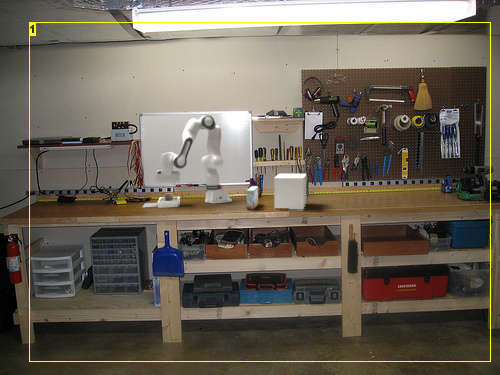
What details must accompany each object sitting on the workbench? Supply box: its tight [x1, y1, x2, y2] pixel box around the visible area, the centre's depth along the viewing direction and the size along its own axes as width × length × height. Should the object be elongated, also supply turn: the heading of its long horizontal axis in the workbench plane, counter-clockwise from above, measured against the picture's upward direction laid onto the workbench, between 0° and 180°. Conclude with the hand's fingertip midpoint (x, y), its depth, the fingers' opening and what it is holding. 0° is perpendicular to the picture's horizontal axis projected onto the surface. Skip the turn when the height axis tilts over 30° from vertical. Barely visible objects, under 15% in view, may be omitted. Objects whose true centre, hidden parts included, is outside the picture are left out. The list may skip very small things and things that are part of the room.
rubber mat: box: [141, 202, 158, 209], centre depth 302 cm, size 11×16×1 cm
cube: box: [273, 173, 307, 210], centre depth 286 cm, size 25×21×24 cm
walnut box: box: [164, 192, 174, 201], centre depth 303 cm, size 5×12×9 cm, turn 6°
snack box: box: [246, 185, 259, 210], centre depth 288 cm, size 21×6×15 cm, turn 168°
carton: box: [157, 196, 181, 209], centre depth 304 cm, size 16×18×5 cm
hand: (167, 188), depth 302 cm, fingers open, 8 cm apart
